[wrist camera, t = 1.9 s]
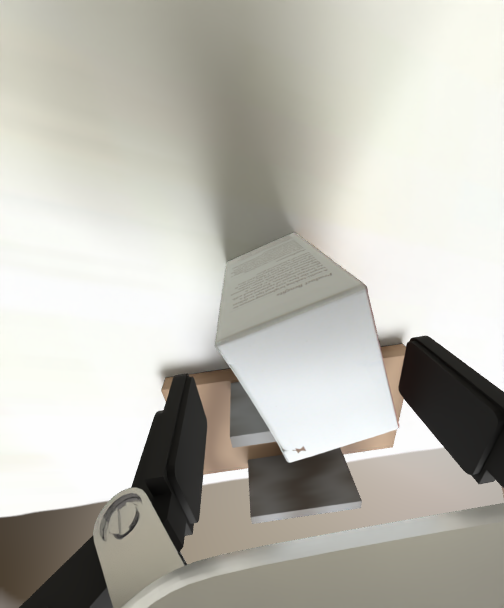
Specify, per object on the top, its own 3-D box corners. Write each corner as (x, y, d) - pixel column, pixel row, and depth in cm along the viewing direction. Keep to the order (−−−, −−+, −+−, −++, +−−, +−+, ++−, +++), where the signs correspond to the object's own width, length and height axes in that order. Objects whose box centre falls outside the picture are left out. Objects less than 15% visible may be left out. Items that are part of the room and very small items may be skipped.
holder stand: (402, 343, 22) (462, 400, 16) (385, 434, 28) (424, 500, 22) (165, 377, 22) (140, 446, 16) (197, 461, 28) (187, 534, 22)
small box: (325, 317, 20) (403, 432, 11) (264, 341, 21) (289, 468, 12) (295, 228, 17) (373, 282, 7) (224, 260, 18) (211, 347, 8)
